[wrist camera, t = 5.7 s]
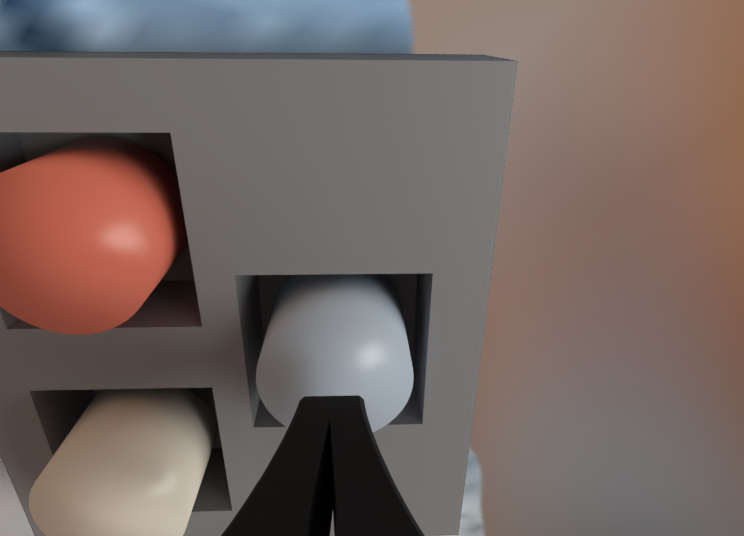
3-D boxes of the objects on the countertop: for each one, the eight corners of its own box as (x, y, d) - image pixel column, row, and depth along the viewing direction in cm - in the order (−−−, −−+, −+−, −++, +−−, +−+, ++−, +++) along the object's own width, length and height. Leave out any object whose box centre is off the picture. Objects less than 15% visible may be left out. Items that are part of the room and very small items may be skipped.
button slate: (400, 367, 16) (410, 438, 14) (278, 369, 16) (262, 441, 13) (404, 257, 15) (417, 312, 12) (268, 258, 15) (248, 314, 12)
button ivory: (223, 470, 17) (197, 560, 14) (103, 473, 17) (52, 565, 14) (207, 375, 15) (173, 456, 12) (74, 377, 15) (8, 459, 12)
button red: (202, 274, 15) (165, 333, 12) (64, 275, 15) (-7, 336, 12) (180, 137, 13) (132, 167, 10) (24, 136, 13) (-72, 167, 10)
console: (443, 465, 20) (458, 535, 17) (83, 474, 19) (39, 547, 16) (483, 54, 13) (517, 61, 10) (-59, 50, 13) (-171, 56, 10)
